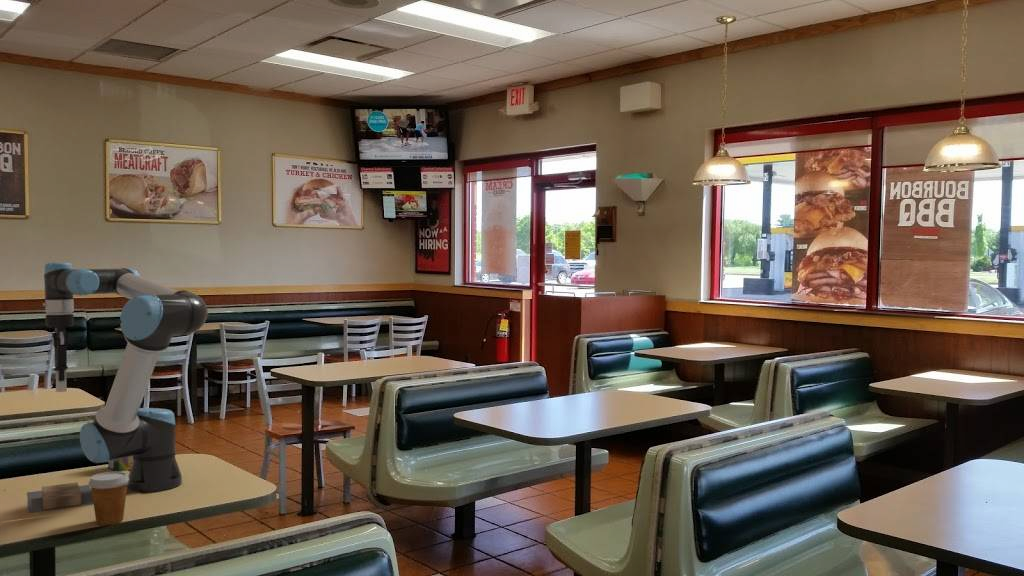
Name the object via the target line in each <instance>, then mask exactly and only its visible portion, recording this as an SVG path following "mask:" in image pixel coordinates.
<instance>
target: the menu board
mask: <svg viewBox="0 0 1024 576" xmlns="http://www.w3.org/2000/svg"><path fill="white" fill-rule="evenodd" d="M79 486H80V485H79V483H78V482H69V483H63V484H53V485H46V486H45V485H44V486H41V491H42V501H43V508H44V510H45V509H53V508H60V507H67V506H75V505H81V493H80V489H79Z"/></svg>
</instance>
